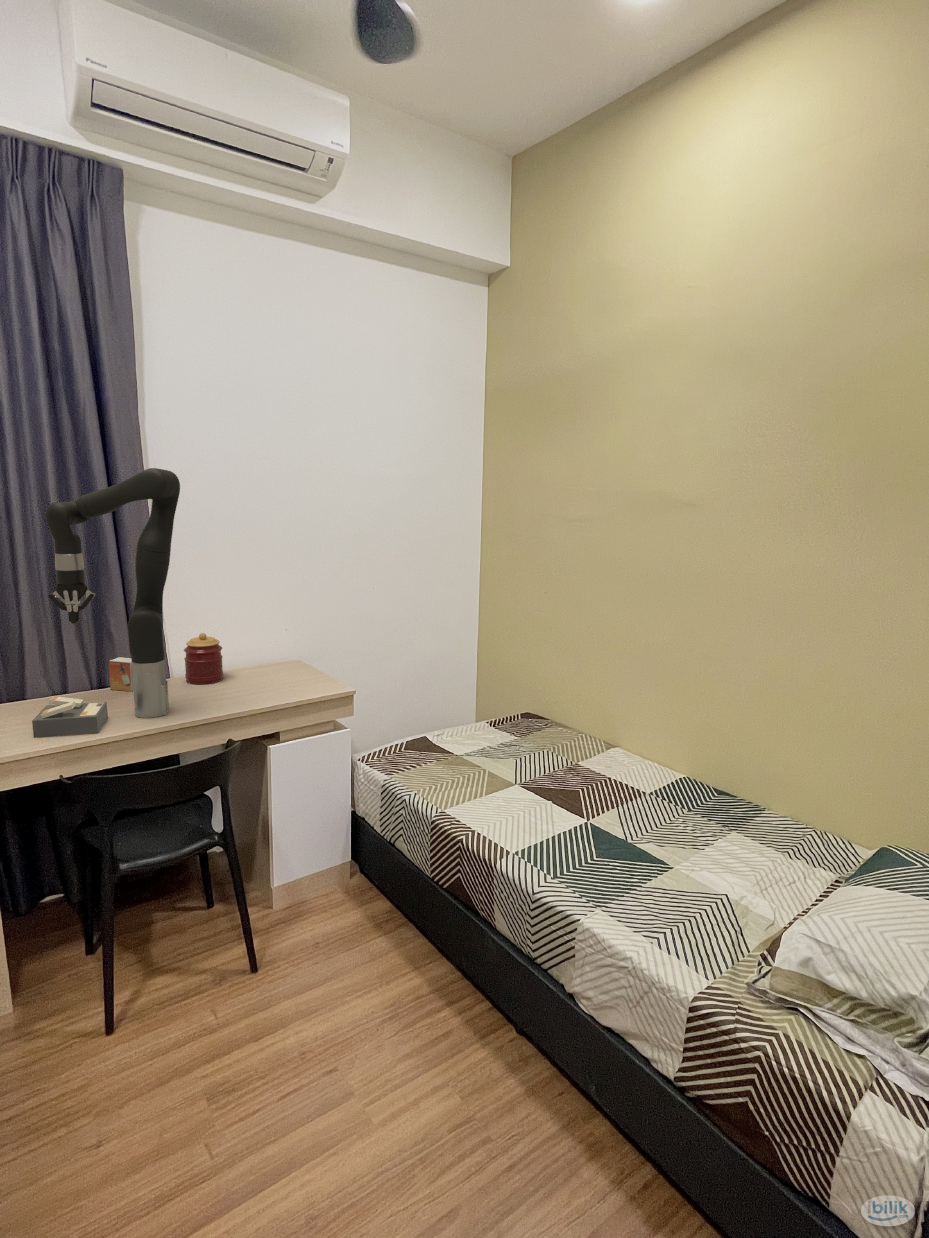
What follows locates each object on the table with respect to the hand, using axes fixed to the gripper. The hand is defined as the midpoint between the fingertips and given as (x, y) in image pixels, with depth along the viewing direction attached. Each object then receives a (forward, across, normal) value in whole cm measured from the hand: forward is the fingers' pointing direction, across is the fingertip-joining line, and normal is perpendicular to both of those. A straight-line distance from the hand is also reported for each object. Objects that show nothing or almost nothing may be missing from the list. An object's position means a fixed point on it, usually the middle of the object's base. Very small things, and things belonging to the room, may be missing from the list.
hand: (74, 623), depth 202 cm
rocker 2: (+21, 0, +23) cm, 31 cm away
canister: (+27, -35, -22) cm, 50 cm away
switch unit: (+27, -2, +20) cm, 34 cm away
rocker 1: (+21, 0, +16) cm, 26 cm away
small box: (+27, -10, -16) cm, 33 cm away
